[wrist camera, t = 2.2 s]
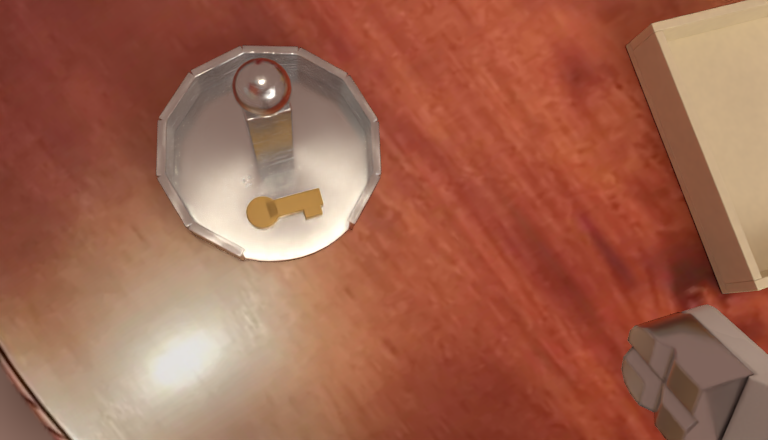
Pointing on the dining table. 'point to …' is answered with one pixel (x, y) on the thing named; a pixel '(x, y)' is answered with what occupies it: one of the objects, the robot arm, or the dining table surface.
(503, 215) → the dining table surface
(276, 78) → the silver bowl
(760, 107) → the cream tray
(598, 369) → the dining table surface
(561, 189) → the dining table surface
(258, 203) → the brass key
